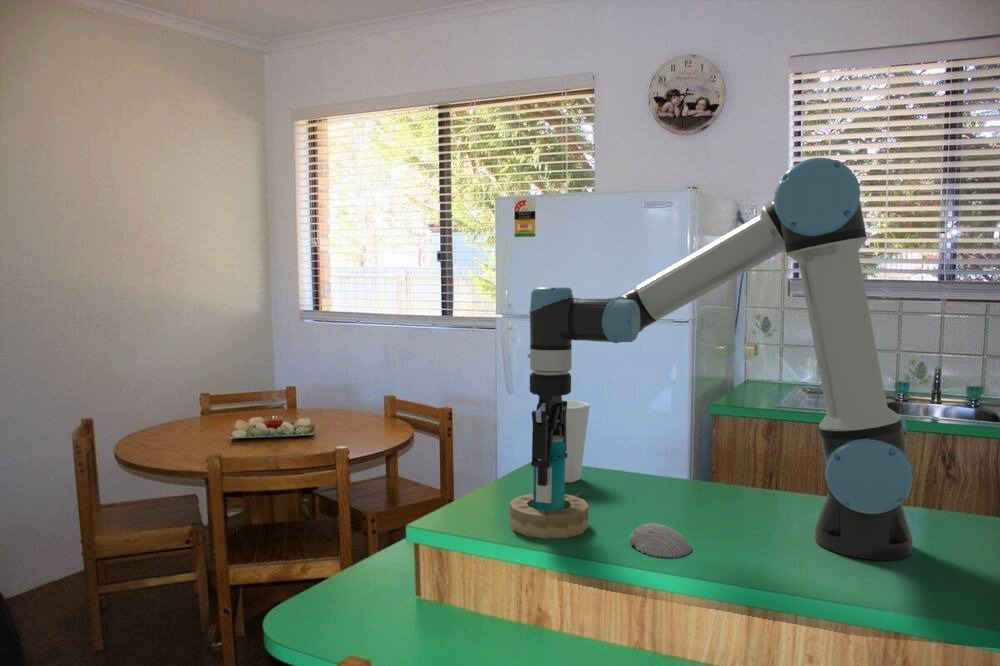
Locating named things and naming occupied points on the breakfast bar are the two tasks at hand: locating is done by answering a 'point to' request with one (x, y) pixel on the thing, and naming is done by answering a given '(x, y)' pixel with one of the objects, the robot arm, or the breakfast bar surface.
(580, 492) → the brown stick
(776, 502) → the breakfast bar surface
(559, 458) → the beverage can
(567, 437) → the cup
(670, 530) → the seashell
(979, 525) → the breakfast bar surface
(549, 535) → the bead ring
